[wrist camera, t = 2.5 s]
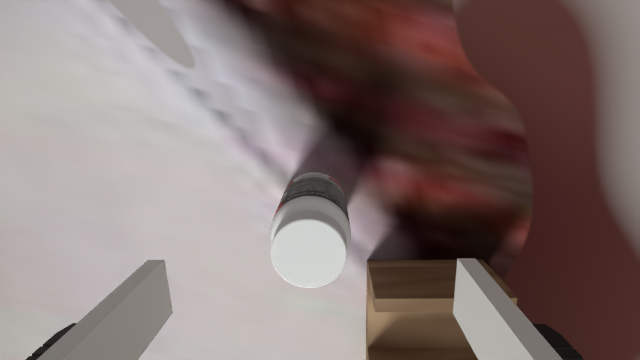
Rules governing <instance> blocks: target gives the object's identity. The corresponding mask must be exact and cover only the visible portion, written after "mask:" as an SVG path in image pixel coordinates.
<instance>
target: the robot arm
mask: <svg viewBox="0 0 640 360" xmlns="http://www.w3.org/2000/svg"><path fill="white" fill-rule="evenodd" d="M172 313H173V312H172V305H171V299H170V293H169V286H168V280H167V274H166V267H165V261H164V260H147V261H146V262H145V263H144V264H143V265H142V266H141V267H140V268H138V269H137V270H136V271H135V272H134V273H133V274H132V275H131V276H130V277H128V278H127V279H126V280H125V281H124V282H123V283H122V284H121V285H119V286H118V287H117V288H116V289H115V290H114V291H113V292H112V293H111V294H109V295H108V296H107V297H106V298H105V299H104V300H103V301H102V302H100V303H99V304H98V305H97V306H96V307H95V308H94V309H93V310H92V311H90V312H89V313H88V314H87V315H86V316H85V317H84V318H83V319H81V320H80V321H79V322H78V323H73V324H71V325H69V326H68V327H66V328H64V329H63V330H61V331H59V332H57V333H56V334H55V335H54V336H52V337H51V338H50V339H49V340H48V341H47V342H45V343H44V344H43V347H40V348H38V349H37V350H36V351H35V352H34V353H33V354H32V356H29V357H28V358H27V359H26V360H138V359H139V358H140V356H141V355H142V353H143V352H144V351H145V349H146V348H147V347H148V345H149V344H150V343H151V341H152V340H153V339H154V337H155V336H156V334H157V333H158V332H159V330H160V329H161V328H162V326H163V325H164V324H165V322H166V321H167V320H168V318H169V317H170V315H171V314H172ZM453 314H454V316H455V318H456V320H457V322H458V323H459V325H460V327H461V329H462V331H463V333H464V334H465V336H466V338H467V340H468V342H469V344H470V345H471V347H472V349H473V351H474V353H475V355H476V356H477V358H478V360H583V358H582V356H581V355H580V354H579V353H578V352H577V351H576V350H575V349H573V347H572V346H571V345H570V343H569V342H568V341H567V340H566V339H565V338H564V337H563V336H562V335H561V334H559V333H558V332H556V331H555V330H553V329H552V328H550V327H549V326H547V325H545V324H532V323H531V322H530V321H529V320H528V319H527V318H526V317H525V315H524V314H523V313H522V312H521V311H520V310H519V308H518V307H517V306H516V305H515V304H514V303H513V301H512V300H511V299H510V298H509V297H508V296H507V294H506V293H505V292H504V291H503V290H502V289H501V288H500V286H499V285H498V284H497V283H496V282H495V281H494V279H493V278H492V277H491V276H490V275H489V274H488V272H487V271H486V270H485V269H484V268H483V267H482V266H481V264H480V263H479V262H478V261H477V260H476V259H475V258H457V270H456V281H455V293H454V305H453Z"/></svg>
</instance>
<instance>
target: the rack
mask: <svg viewBox="0 0 640 360" xmlns="http://www.w3.org/2000/svg"><path fill="white" fill-rule="evenodd" d="M476 260H477V261H478V262H479V263H480V264H481V266H482V267H483V268H484V269H485V270H486V271H487V272H488V274H489V275H490V276H491V277H492V278H493V279H494V281H495V282H496V283H497V284H498V285H499V286H500V288H501V289H502V290H503V291H504V292H505V293H506V294H507V296H508V297H509V298H510V299H511V300H512V301H513V303H514V304H515V305H516V303H517V297H516V296H515V295H514V294H513V293H512V292H511V290H510V289H509V288H508V287H507V286H506V285H505V284H504V283H503V281H502V280H501V279H500V278H499V277H498V276H497V275H496V274H495V273H494V271H493V270H492V269H491V268H490V267H489V266H488V265H487V264H486V263H485V261H484V260H483V259H476ZM456 270H457V260H367V311H366V360H478V358H477V356H476V355H475V353H474V351H473V349H472V347H471V345H470V344H469V342H468V340H467V338H466V336H465V334H464V333H463V331H462V329H461V327H460V325H459V323H458V322H457V320H456V318H455V316H454V314H453V305H454V293H455V281H456Z"/></svg>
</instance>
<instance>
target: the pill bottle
mask: <svg viewBox="0 0 640 360" xmlns="http://www.w3.org/2000/svg"><path fill="white" fill-rule="evenodd" d="M270 236H271V242H272V244H271V259H272V263H273V265H274V267H275V269H276V271H277V272H278V273H279V275H280V276H281V277H282V278H283V279H285V280H286V281H288V282H289V283H291V284H293V285H296V286H299V287H304V288H315V287H321V286H324V285H326V284H328V283H330V282H332V281H333V280H334V279H336V278H337V277H338V276H339V275H340V273H341V272H342V270H343V268H344V266H345V264H346V260H347V249H348V247H349V243H350V238H351V231H350V224H349V218H348V211H347V204H346V197H345V193H344V191H343V189H342V187H341V185H340V184H339V183H338V182H337V181H336V180H335V179H334V178H332V177H331V176H329V175H326V174H323V173H319V172H309V173H304V174H302V175H299V176H298V177H296V178H295V179H293V180H292V181H291V182H290V183H289V185H288V186H287V188H286V190H285V192H284V194H283V197H282V199H281V202H280V204H279V206H278V209H277V211H276V213H275V216H274V218H273V221H272V225H271V231H270Z"/></svg>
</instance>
